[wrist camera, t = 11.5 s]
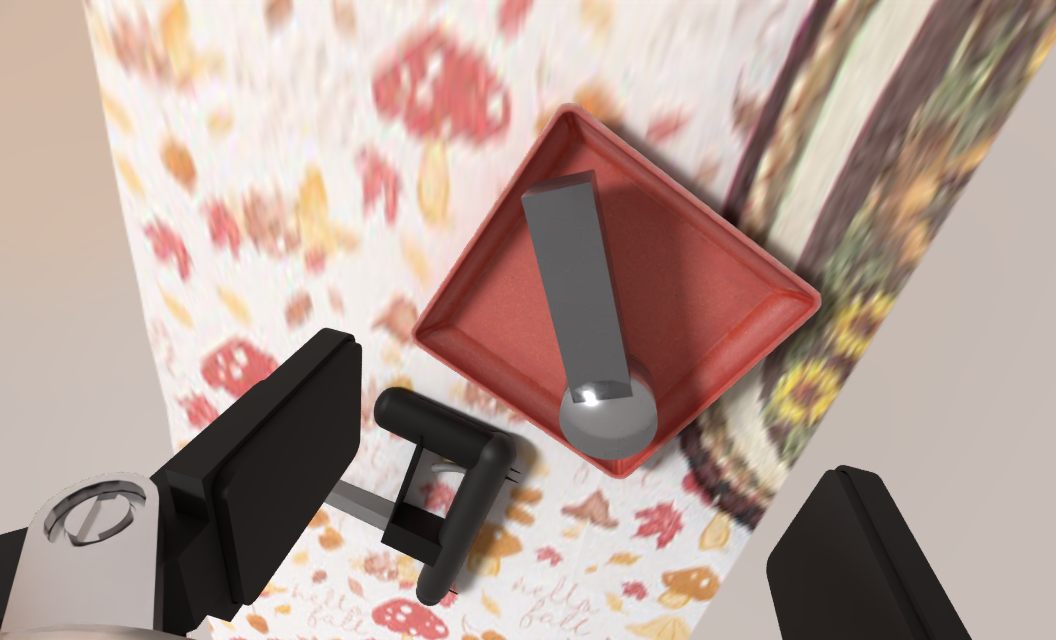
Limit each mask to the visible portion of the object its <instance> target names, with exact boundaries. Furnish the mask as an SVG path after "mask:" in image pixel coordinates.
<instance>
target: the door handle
mask: <svg viewBox="0 0 1056 640" xmlns="http://www.w3.org/2000/svg"><path fill="white" fill-rule="evenodd" d="M374 418H375V421H376V423H377V424H378V425H379V426H380V427H381V428H383V429H385V430H387V431H389V432H392V433H394V434H396V435H398V436H400V437H402V438H404V439H406V440H408V441H410V442H413V443H415V444H417V446H416V448H415V451H414V454H413V457H412V459H411V462H410V465H409V467H408V470H407V473H406V475H405V478H404V481H403V484H402V486H401V489H400V492H399V494H398V497H397V500H396V502H395V504H394V503H392V502H390V501H388V500H386V499H384V498H382V497H380V496H378V495H375V494H373V493H371V492H368V491H366V490H363V489H361V488H359V487H356V486H354V485H352V484H349V483H347V482H344V481H342V480H340V479H339V481H338V482H337V484H336V485H335V486H334V488H333V489H332V491H331V492H330V494H329V495H328V497H327V498H326V499H325V501H324V502H325V503H327V504H329V505H331V506H333V507H335V508H337V509H339V510H341V511H343V512H345V513H348V514H350V515H352V516H354V517H356V518H358V519H360V520H362V521H364V522H366V523H368V524H370V525H372V526H375V527H377V528H379V529H381V530H383V531H385V532H384V534H383V537H382V540H381V543H383V544H385V545H388V546H390V547H392V548H394V549H396V550H398V551H400V552H402V553H404V554H406V555H408V556H410V557H412V558H414V559H417V560H419V561H421V562H423V563H425V564H424V567H423V569H422V571H421V573H420V575H419V578H418V582H417V588H416V595H417V598H418V600H419V601H420V602H421V603H422V604H424V605H427V606H433V605H436V604H438V603H439V602H440V601H441V599H442V598H444V597H445V596H446V594H447V593H448V591H450V592H452V593H455V594H458V593H456V592H454V591H452V590H450V587H451V585H452V583H453V581H454V579H455V577H456V575H457V573H458V571H459V569H460V567H461V565H462V563H463V561H464V559H465V557H466V556H467V554H468V552H469V550H470V548H471V546H472V544H473V542H474V540H475V538H476V536H477V534H478V532H479V530H480V528H481V526H482V524H483V522H484V520H485V518H486V516H487V514H488V512H489V510H490V508H491V506H492V504H493V502H494V500H495V498H496V496H497V494H498V492H499V490H500V488H501V486H502V484H503V482H504V480H505V479H508V480H511V481H514V480H513V479H511V478H509V477H508V476H507V475H508V473H509V471H510V470H512V471H514V472H517V473H519V472H518V471H516V470H514V469H513V468H511V467H512V465H513V463H514V461H515V458H516V447H515V444H514V442H513V441H512V439H511V438H510V437H508V436H507V435H505V434H503V433H499V432H494V433H493V432H491V431H489V430H487V429H484V428H482V427H480V426H478V425H476V424H474V423H472V422H470V421H467V420H465V419H463V418H461V417H459V416H457V415H455V414H453V413H450V412H448V411H446V410H444V409H442V408H440V407H438V406H436V405H434V404H431V403H429V402H427V401H425V400H423V399H421V398H419V397H417V396H414V395H412V394H410V393H408V392H406V391H404V390H402V389H400V388H397V387H391V388H388V389H386V390H385V391H383V392H382V393H381V394H380V396H379V397H378V399H377V401H376V403H375V407H374ZM423 448H425V449H427V450H429V451H432V452H434V453H436V454H438V455H440V456H442V457H444V458H446V459H448V460H450V461H453V462H455V463H457V464H454V463H436V464H432V467H431V469H432V471H433V472H443V471H449V472H459V473H463V474H465V475H464V478H463V480H462V482H461V484H460V486H459V489H458V491H457V493H456V495H455V498H454V500H453V502H452V504H451V506H450V509H449V511H448V513H447V515H446V518H445V519H444V518H442V517H439V516H437V515H434V514H432V513H430V512H427V511H425V510H423V509H420V508H418V507H415V506H413V505H411V504H408V503H406V502H403V500H404V498H405V495H406V493H407V490H408V487H409V485H410V482H411V479H412V477H413V474H414V472H415V469H416V466H417V464H418V461H419V458H420V456H421V453H422V451H423ZM520 474H521V473H520ZM514 482H516V481H514ZM516 483H518V482H516Z"/></svg>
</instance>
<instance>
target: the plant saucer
mask: <svg viewBox="0 0 1056 640" xmlns="http://www.w3.org/2000/svg"><path fill="white" fill-rule="evenodd" d="M592 169H595V174H596V179H597V185H598V190H599V195H600V200H601V205H602V211H603V216H604V221H605V226H606V231H607V236H608V242H609V247H610V252H611V257H612V262H613V268H614V273H615V278H616V283H617V288H618V294H619V299H620V304H621V309H622V314H623V319H624V325H625V330H626V335H627V340H628V345H629V351H630V354H632V355H634V356H635V357H637V358H638V359H640V360H641V361H642V362H643V363H644V364H645V365H646V366H647V368H648V369H649V371H650V372H651V375H652V377H653V381H654V390H655V399H656V409H657V419H658V425H657V431H656V434H655V436H654V438H653V440H652V441H651V443H650V444H649V445H648V446H647V447H646V448H645V449H644V450H642V451H641V452H639V453H638V454H636V455H634V456H631V457H628V458H624V459H618V460H604V459H598V458H594V457H591V456H588V455H586V454H584V453H582V452H580V451H579V450H577V449H576V448H575V447H574V446H572V445H571V444H570V443H569V442H568V440H567V439H566V438H565V436H564V434H563V432H562V430H561V427H560V422H559V414H560V408H561V402H562V397H563V392H564V386H565V381H566V373H565V369H564V365H563V361H562V357H561V353H560V349H559V345H558V341H557V338H556V334H555V330H554V326H553V322H552V318H551V314H550V310H549V306H548V302H547V298H546V294H545V290H544V286H543V282H542V279H541V275H540V271H539V267H538V263H537V259H536V255H535V251H534V247H533V243H532V239H531V235H530V231H529V227H528V223H527V219H526V216H525V212H524V208H523V204H522V200H521V197H522V196H523V194H524V193H525V192H526V191H527V189H528V188H529V187H530V186H531V185H532V183H535V182H540V181H544V180H548V179H553V178H557V177H561V176H566V175H570V174H574V173H579V172H583V171H587V170H592ZM821 303H822V299H821V294H820V293H819V292H818V291H817V290H816V289H815V288H813V287H812V286H811V285H809V284H808V283H807V282H806V281H804V280H803V279H802V278H801V277H799V276H798V275H797V274H795V273H794V272H793V271H791V270H790V269H789V268H787V267H786V266H785V265H783V264H782V263H781V262H780V261H778V260H777V259H776V258H775V257H773V256H772V255H771V254H769V253H768V252H767V251H766V250H764V249H763V248H761V247H760V246H759V245H758V244H756V243H755V242H754V241H753V240H751V239H750V238H749V237H747V236H746V235H745V234H743V233H742V232H741V231H740V230H738V229H737V228H736V227H734V226H733V225H732V224H730V223H729V222H728V221H727V220H725V219H724V218H723V217H721V216H720V215H719V214H717V213H716V212H715V211H714V210H713V209H711V208H710V207H709V206H707V205H706V204H705V203H703V202H702V201H701V200H700V199H698V198H697V197H696V196H695V195H693V194H692V193H690V192H689V191H688V190H687V189H686V188H684V187H683V186H682V185H681V184H679V183H678V182H676V181H675V180H674V179H672V178H671V177H670V176H669V175H668V174H667V173H665V172H664V171H662V170H661V169H660V168H658V167H657V166H656V165H655V164H653V163H652V162H651V161H650V160H648V159H647V158H646V157H644V156H643V155H642V154H641V153H639V152H638V151H637V150H635V149H634V148H633V147H631V146H630V145H629V144H628V143H627V142H625V141H624V140H623V139H621V138H620V137H619V136H618V135H616V134H615V133H614V132H612V131H611V130H610V129H609V128H608V127H606V126H605V125H604V124H603V123H602V122H600V121H599V120H597V119H596V118H595V117H593V116H592V115H591V114H590V113H589V112H587V111H586V110H584V109H583V108H582V107H580V106H578V105H577V104H572V103H565V104H561V105H560V106H559V107H558V108H557V109H556V111H555V112H554V113H553V115H552V116H551V118H550V119H549V121H548V123H547V124H546V126H545V127H544V129H543V131H542V132H541V134H540V135H539V136H538V138H537V139H536V141H535V142H534V144H533V145H532V147H531V148H530V150H529V151H528V153H527V155H526V156H525V158H524V159H523V161H522V162H521V164H520V165H519V167H518V168H517V170H516V171H515V173H514V175H513V176H512V178H511V179H510V181H509V182H508V184H507V185H506V187H505V188H504V190H503V191H502V192H501V194H500V195H499V197H498V199H497V200H496V202H495V203H494V205H493V207H492V208H491V210H490V211H489V213H488V214H487V216H486V217H485V219H484V220H483V222H482V223H481V225H480V226H479V228H478V229H477V231H476V233H475V234H474V236H473V237H472V239H471V240H470V241H469V243H468V244H467V245H466V247H465V249H464V250H463V252H462V253H461V255H460V257H459V258H458V260H457V261H456V263H455V264H454V266H453V267H452V269H451V270H450V272H449V273H448V275H447V277H446V278H445V280H444V281H443V282H442V284H441V285H440V287H439V289H438V290H437V292H436V293H435V295H434V296H433V298H432V299H431V301H430V302H429V303H428V305H427V307H426V308H425V310H424V311H423V312H422V314H421V315H420V317H419V319H418V320H417V322H416V323H415V325H414V326H413V328H412V330H411V337H412V340H413V342H414V343H415V344H416V345H417V346H418V347H419V348H421V349H423V350H424V351H426V352H427V353H428V354H430V355H431V356H433V357H434V358H435V359H437V360H439V361H440V362H442V363H443V364H445V365H446V366H448V367H449V368H451V369H452V370H454V371H455V372H457V373H458V374H460V375H461V376H463V377H464V378H466V379H467V380H468V381H470V382H471V383H473V384H474V385H476V386H477V387H478V388H480V389H481V390H483V391H485V392H486V393H488V394H489V395H490V396H492V397H494V398H495V399H497V400H498V401H499V402H501V403H502V404H504V405H505V406H507V407H508V408H509V409H511V410H512V411H514V412H516V413H517V414H519V415H520V416H521V417H523V418H524V419H526V420H528V421H529V422H530V423H532V424H533V425H535V426H536V427H538V428H539V429H541V430H542V431H544V432H545V433H546V434H548V435H549V436H551V437H552V438H554V439H555V440H557V441H558V442H560V443H561V444H563V445H564V446H566V447H567V448H569V449H570V450H572V451H573V452H575V453H576V454H578V455H579V456H580V457H582V458H583V459H585V460H586V461H588V462H589V463H591V464H592V465H594V466H595V467H596V468H598V469H599V470H601V471H602V472H604V473H605V474H607V475H608V476H610V477H612V478H615V479H624V478H626V477H628V476H629V475H630V474H632V473H633V472H634V471H635V470H636V469H637V468H638V467H639V466H641V465H642V464H643V463H644V462H645V461H647V460H648V459H649V458H650V457H651V456H653V455H654V454H655V453H656V452H657V451H658V450H659V449H660V448H661V447H663V446H664V445H665V444H666V443H668V442H669V441H670V440H671V439H672V438H673V437H674V436H676V435H677V434H678V433H679V432H680V431H681V430H682V429H684V428H685V427H686V426H687V425H688V424H690V423H691V422H692V421H693V420H694V419H695V418H696V417H697V416H698V415H699V414H701V413H702V412H703V411H704V410H705V409H707V408H708V407H709V406H710V405H711V404H712V403H713V402H714V401H716V400H717V399H718V398H719V397H720V396H721V395H723V394H724V393H725V392H726V391H727V390H728V389H729V388H731V387H732V386H733V385H734V384H735V383H736V382H737V381H738V380H739V379H741V378H742V377H743V376H744V375H745V374H746V373H748V372H749V371H750V370H751V369H752V368H753V367H754V366H756V365H757V364H758V363H759V362H760V361H761V360H762V359H763V358H765V357H766V356H767V355H768V354H769V353H771V352H772V351H773V350H774V349H775V348H776V347H777V346H778V345H779V344H781V343H782V342H783V341H784V340H785V339H786V338H787V337H788V336H789V335H791V334H792V333H793V332H794V331H796V330H797V329H798V328H799V327H800V326H802V325H803V324H804V323H805V322H806V321H807V320H808V319H809V318H810V317H811V316H813V315H814V314H815V313H816V312H817V311H818V310H819V308H820V307H821Z"/></svg>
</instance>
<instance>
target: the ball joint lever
mask: <svg viewBox="0 0 1056 640" xmlns="http://www.w3.org/2000/svg"><path fill="white" fill-rule="evenodd" d="M521 200H522V204H523V208H524V212H525V216H526V219H527V223H528V227H529V231H530V235H531V239H532V243H533V247H534V251H535V255H536V259H537V263H538V267H539V271H540V275H541V279H542V282H543V286H544V290H545V294H546V298H547V302H548V306H549V310H550V314H551V318H552V322H553V326H554V330H555V334H556V338H557V341H558V345H559V349H560V353H561V357H562V361H563V365H564V369H565V373H566V381H565V386H564V392H563V397H562V402H561V408H560V414H559V422H560V427H561V430H562V432H563V434H564V436H565V438H566V439H567V440H568V442H569V443H570V444H571V445H572V446H574V447H575V448H576V449H577V450H579V451H580V452H582V453H584V454H586V455H588V456H591V457H594V458H598V459H604V460H618V459H624V458H628V457H631V456H634V455H636V454H638V453H639V452H641V451H642V450H644V449H645V448H646V447H647V446H648V445H649V444H650V443H651V441H652V440H653V438H654V436H655V434H656V431H657V425H658V419H657V409H656V399H655V390H654V381H653V377H652V375H651V372H650V371H649V369H648V368H647V366H646V365H645V364H644V363H643V362H642V361H641V360H640V359H638V358H637V357H635V356H634V355H632V354H630V351H629V345H628V340H627V335H626V330H625V325H624V319H623V314H622V309H621V304H620V299H619V294H618V288H617V283H616V278H615V273H614V268H613V262H612V257H611V252H610V247H609V242H608V236H607V231H606V226H605V221H604V216H603V211H602V205H601V200H600V195H599V190H598V185H597V179H596V174H595V169H592V170H587V171H583V172H579V173H574V174H570V175H566V176H561V177H557V178H553V179H548V180H544V181H540V182H535V183H532V185H531V186H530V187H529V188H528V189H527V191H526V192H525V193H524V194H523V196H522V197H521Z"/></svg>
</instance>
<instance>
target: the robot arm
mask: <svg viewBox="0 0 1056 640" xmlns="http://www.w3.org/2000/svg"><path fill="white" fill-rule="evenodd" d="M361 379H362V347H361V345H360V344H359V343H355V338H354V336H353V335H352V334H349V333H345V332H341V331H337V330H334V329H330V328H323V329H321V330H320V331H319V332H318V333H317V334H316V335H314V336H313V337H312V338H311V339H310V340H309V341H308V342H307V343H305V344H304V345H303V346H302V347H301V348H300V349H299V350H298V351H297V352H295V353H294V354H293V355H292V356H291V357H290V358H289V359H288V360H286V361H285V362H284V363H283V364H282V365H281V366H280V367H279V368H278V369H276V370H275V371H274V372H273V373H272V374H271V375H270V376H269V377H267V378H266V379H265V380H262V381H260V382H258V383H257V384H255V385H254V386H253V387H252V388H251V389H250V390H248V391H247V392H246V393H245V394H244V395H243V396H242V397H241V398H239V399H238V400H237V401H236V402H235V403H234V404H233V405H231V406H230V407H229V408H228V409H227V410H226V411H225V412H224V413H222V414H221V415H220V416H219V417H218V418H217V419H216V420H214V421H213V422H212V423H211V424H210V425H209V426H208V427H207V428H205V429H204V430H203V431H202V432H201V433H200V434H199V435H198V436H196V437H195V438H194V439H193V440H192V441H191V442H190V443H188V444H187V445H186V446H185V447H184V448H183V449H182V450H181V451H179V452H178V453H177V454H176V455H175V456H174V457H173V458H171V459H170V460H169V461H168V462H167V463H166V464H165V465H164V466H162V467H161V468H160V469H159V470H158V471H157V472H156V473H155V474H153V475H152V476H151V477H150V478H146V477H144V476H141V475H139V474H135V473H124V472H118V473H110V474H102V475H99V476H95V477H92V478H88V479H85V480H82V481H80V482H78V483H76V484H74V485H72V486H70V487H68V488H65V489H64V490H62V491H61V492H59V493H58V494H56V495H55V496H54V497H52V498H51V499H49V500H48V501H47V502H46V503H45V504H44V505H43V506H42V507H41V508H40V510H38V512H36V513H35V515H34V517H33V519H32V521H31V523H30V525H29V527H26V528H23V529H19V530H16V531H12V532H8V533H5V534H1V535H0V640H194V639H192V631H193V630H195V629H197V627H198V626H199V625H200V624H201V622H202V621H203V620H204V618H205V617H206V616H207V615H209V616H212V617H216V618H219V619H222V620H225V621H228V622H231V621H232V619H233V618H234V616H235V615H236V614H237V612H238V611H239V609H240V608H241V606H242V605H243V604H244V605H248V606H249V605H251V604H252V603H253V602H254V601H255V600H256V599H257V598H258V597H259V595H260V594H261V592H262V591H263V589H264V588H265V587H266V585H267V584H268V582H269V581H270V579H271V578H272V576H273V575H274V573H275V572H276V571H277V569H278V568H279V566H280V565H281V563H282V562H283V560H284V559H285V558H286V556H287V555H288V553H289V552H290V550H291V549H292V547H293V546H294V544H295V543H296V542H297V540H298V539H299V537H300V536H301V534H302V533H303V531H304V530H305V529H306V527H307V526H308V524H309V523H310V521H311V520H312V518H313V517H314V515H315V514H316V513H317V511H318V510H319V508H320V507H321V505H322V504H323V502H324V501H325V499H326V498H327V497H328V495H329V494H330V492H331V491H332V489H333V488H334V486H335V485H336V484H337V482H338V481H339V479H340V478H341V476H342V475H343V473H344V472H345V470H346V469H347V468H348V466H349V465H350V463H351V462H352V460H353V459H354V457H355V456H356V453H357V451H358V448H359V445H360V429H361ZM766 569H767V570H766V572H767V578H768V582H769V586H770V590H771V594H772V598H773V602H774V606H775V611H776V615H777V618H778V623H779V627H780V631H781V635H782V639H783V640H972V639H971V637H970V635H969V634H968V632H967V630H966V628H965V627H964V625H963V623H962V621H961V620H960V618H959V616H958V614H957V612H956V611H955V609H954V607H953V605H952V603H951V602H950V600H949V598H948V596H947V595H946V593H945V591H944V589H943V587H942V586H941V584H940V582H939V580H938V579H937V577H936V575H935V573H934V572H933V570H932V568H931V567H930V564H929V563H928V561H927V559H926V557H925V556H924V554H923V552H922V550H921V548H920V547H919V545H918V543H917V541H916V540H915V538H914V536H913V534H912V533H911V531H910V529H909V527H908V525H907V524H906V522H905V520H904V518H903V517H902V515H901V513H900V511H899V509H898V508H897V506H896V504H895V502H894V501H893V499H892V497H891V496H890V493H889V492H888V490H887V488H886V486H885V485H884V483H883V481H882V479H881V478H880V477H879V476H878V475H877V474H875V473H873V472H869V471H865V470H861V469H858V468H854V467H850V466H846V465H840V466H838V467H837V468H836V469H835V470H828V471H826V472H825V473H824V475H823V476H822V478H821V479H820V481H819V482H818V484H817V485H816V487H815V488H814V490H813V491H812V493H811V494H810V496H809V497H808V499H807V500H806V502H805V503H804V505H803V506H802V508H801V509H800V511H799V512H798V514H797V515H796V517H795V518H794V520H793V521H792V523H791V524H790V526H789V527H788V529H787V530H786V532H785V533H784V534H783V536H782V538H781V539H780V541H779V542H778V543H777V545H776V546H775V548H774V550H773V551H772V552H771V554H770V556H769V558H768V561H767V567H766Z"/></svg>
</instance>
